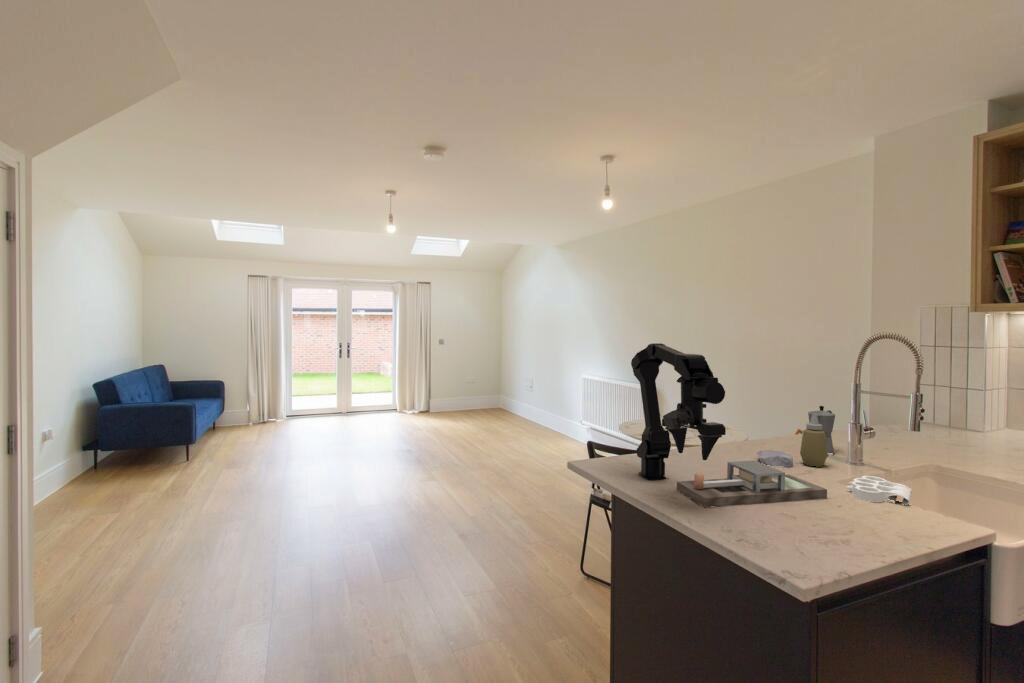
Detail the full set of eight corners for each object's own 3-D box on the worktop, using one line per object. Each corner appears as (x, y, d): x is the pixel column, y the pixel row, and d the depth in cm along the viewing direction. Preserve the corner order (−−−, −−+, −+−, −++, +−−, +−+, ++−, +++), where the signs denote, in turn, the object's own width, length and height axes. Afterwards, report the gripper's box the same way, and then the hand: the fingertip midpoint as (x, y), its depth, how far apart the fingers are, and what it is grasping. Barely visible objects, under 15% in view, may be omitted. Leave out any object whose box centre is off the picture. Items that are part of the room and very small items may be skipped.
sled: (703, 493, 130) (704, 479, 130) (686, 483, 139) (687, 470, 139) (778, 487, 135) (778, 474, 135) (757, 478, 143) (757, 466, 143)
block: (752, 489, 135) (753, 474, 135) (738, 482, 141) (739, 468, 141) (771, 487, 136) (771, 473, 136) (756, 481, 142) (757, 467, 142)
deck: (704, 507, 128) (705, 498, 127) (676, 489, 141) (676, 481, 141) (826, 498, 135) (827, 489, 135) (788, 482, 149) (789, 474, 149)
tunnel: (756, 493, 131) (756, 474, 131) (727, 479, 144) (727, 461, 143) (784, 491, 133) (785, 472, 133) (753, 477, 145) (754, 460, 145)
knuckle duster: (907, 511, 127) (841, 498, 137) (912, 494, 140) (851, 483, 150) (908, 499, 127) (841, 486, 137) (912, 482, 140) (851, 472, 150)
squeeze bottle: (826, 464, 169) (828, 413, 169) (827, 469, 162) (828, 416, 162) (800, 460, 174) (801, 411, 173) (799, 466, 167) (800, 414, 166)
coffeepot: (826, 457, 178) (827, 409, 177) (799, 452, 186) (800, 405, 185) (843, 451, 187) (845, 405, 186) (817, 446, 195) (818, 402, 194)
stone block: (765, 471, 166) (796, 467, 164) (762, 458, 167) (793, 454, 165) (755, 463, 178) (784, 459, 176) (752, 450, 178) (781, 446, 176)
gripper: (646, 398, 139) (646, 452, 139) (693, 405, 122) (694, 467, 122) (677, 396, 143) (677, 448, 143) (726, 403, 126) (727, 462, 126)
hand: (692, 456), depth 133 cm, fingers open, 9 cm apart
